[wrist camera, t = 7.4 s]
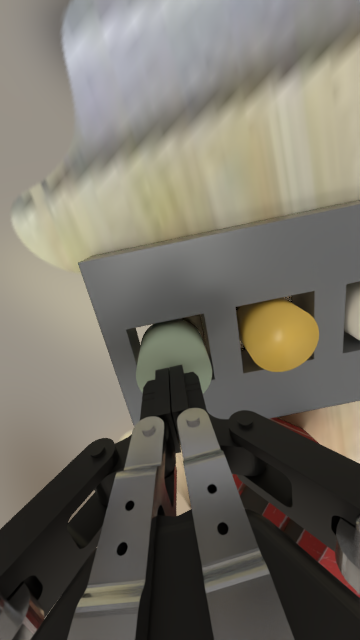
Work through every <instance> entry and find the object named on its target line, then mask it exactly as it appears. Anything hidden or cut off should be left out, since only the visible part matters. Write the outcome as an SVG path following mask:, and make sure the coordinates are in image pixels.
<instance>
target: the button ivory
mask: <svg viewBox="0 0 360 640" xmlns="http://www.w3.org/2000/svg"><path fill="white" fill-rule="evenodd" d="M344 331H345V332H346V333H348V334H350V335H351V336H353V337H355V338H356V339H358V340H360V281H359V282H355V283H350V284H346V300H345V319H344Z"/></svg>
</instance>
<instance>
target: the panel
mask: <svg viewBox="0 0 360 640" xmlns="http://www.w3.org/2000/svg"><path fill="white" fill-rule="evenodd" d="M78 265H79V268H80V271H81V273H82V276H83V279H84V282H85V285H86V288H87V291H88V294H89V297H90V299H91V302H92V305H93V308H94V311H95V314H96V317H97V320H98V323H99V326H100V329H101V332H102V335H103V337H104V340H105V343H106V346H107V349H108V352H109V355H110V358H111V361H112V364H113V367H114V369H115V372H116V375H117V378H118V381H119V384H120V387H121V390H122V393H123V396H124V399H125V401H126V405H127V407H128V410H129V413H130V416H131V419H132V422H133V425H134V427H135V425H136V424H137V423H138V422H139V421H140V414H141V404H142V396H143V393H142V392H141V390H140V388H139V387H138V384H137V380H136V369H137V363H138V358H139V352H140V346H141V345H140V342H139V339H138V335H137V331H136V327H140V326H145V325H150V324H155V323H160V322H165V321H170V320H175V319H179V318H184V317H189V316H194V315H199V314H200V315H201V321H202V326H203V332H204V338H205V343H206V349H207V354H208V357H209V360H210V363H211V367H212V379H211V382H210V385H209V387H208V388H207V390H206V391H205V392H204V394H203V397H204V401H205V405H206V409H207V411H208V413H209V414H210V415H212V416H213V417H216V418H219V419H229V418H230V416H231V415H232V414H233V413H235V412H237V411H241V410H249V411H253V412H255V413H257V414H259V415H261V416H263V417H265V418H267V419H270V418H275V417H280V416H285V415H290V414H295V413H300V412H305V411H310V410H315V409H320V408H325V407H330V406H335V405H340V404H345V403H350V402H355V401H360V340H358V339H356V338H355V337H353V336H351V335H350V334H348V333H346V332H345V331H344V319H345V300H346V284H350V283H355V282H359V281H360V200H358V201H353V202H349V203H344V204H339V205H334V206H330V207H325V208H320V209H315V210H310V211H306V212H301V213H296V214H291V215H287V216H282V217H277V218H272V219H267V220H263V221H258V222H253V223H248V224H244V225H239V226H234V227H229V228H224V229H220V230H215V231H210V232H205V233H200V234H196V235H191V236H186V237H181V238H177V239H172V240H167V241H162V242H157V243H153V244H148V245H143V246H138V247H134V248H129V249H124V250H119V251H114V252H110V253H105V254H100V255H95V256H91V257H89V258H87V259H85V260H83V261H81V262H79V263H78ZM291 295H292V303H293V304H294V305H296V306H298V307H299V308H301V309H302V310H304V311H306V312H307V313H309V314H310V315H311V316H312V317H313V318H314V319H315V321H316V323H317V325H318V329H319V340H318V344H317V346H316V348H315V350H314V352H313V353H312V355H311V356H310V357H309V358H308V359H307V360H306V361H305V362H304V363H303V364H301V365H300V366H298V367H296V368H294V369H291V370H288V371H283V372H272V371H268V370H265V369H263V368H261V367H260V366H258V365H257V364H256V363H255V362H254V360H253V359H252V357H251V356H250V354H249V353H248V351H247V350H243V351H241V349H240V341H239V332H238V324H237V315H236V307H238V306H243V305H248V304H252V303H257V302H262V301H267V300H272V299H277V298H282V297H286V296H291Z"/></svg>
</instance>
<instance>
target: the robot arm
mask: <svg viewBox="0 0 360 640" xmlns="http://www.w3.org/2000/svg"><path fill="white" fill-rule="evenodd" d="M180 445H181V449H182V453H183V458H184V461H183V463H184V469H185V475H186V480H187V486H188V492H189V497H190V503H191V508H192V509H191V510H189V511H187V512H185V513H183V514H181V515H179V516H176V489H177V468H176V456H175V453H179V452H181V449H180ZM232 474H236V475H237V477H238V478H239V480H240V481H242V482H243V483H244V484H245V485H247V486H248V487H249V488H251V489H252V490H253V491H255V492H256V493H257V494H259V495H260V496H261V497H263V498H264V499H265V500H267V501H268V502H269V503H271V504H272V505H273V506H275V507H276V508H277V509H279V510H280V511H281V512H283V513H284V514H285V515H286V516H288V517H289V518H290V519H292V520H293V521H294V522H296V523H297V524H298V525H300V526H301V527H302V528H304V529H305V530H306V531H308V532H309V533H310V534H312V535H313V536H314V537H316V538H317V539H318V540H320V541H321V542H322V543H324V544H325V545H326V546H328V547H329V548H330V549H331V550H333V551H334V552H335V559H336V563H337V565H338V568H339V570H340V572H341V574H342V575H343V577H344V578H345V579H346V581H347V582H348V583H349V584H350V585H351V586H352V587H353V588H354V589H355V590H356V591H357V592H358V593H359V594H360V464H359V463H357V462H355V461H353V460H351V459H349V458H347V457H345V456H343V455H341V454H339V453H337V452H335V451H333V450H330V449H328V448H326V447H324V446H322V445H320V444H318V443H316V442H314V441H312V440H310V439H308V438H306V437H304V436H302V435H300V434H298V433H296V432H294V431H292V430H290V429H288V428H286V427H284V426H282V425H280V424H278V423H276V422H274V421H272V420H269V419H267V418H265V417H263V416H261V415H259V414H257V413H255V412H253V411H249V410H241V411H237V412H235V413H233V414H232V415H231V416H230V418H229V419H219V418H216V417H213V416H212V415H210V414H209V413H208V411H207V409H206V405H205V401H204V397H203V393H202V389H201V385H200V381H199V377H198V375H196V374H195V373H194V372H189V373H184V370H183V366H182V365H178V366H173V367H169V368H163V369H158V370H155V380H150V381H147V383H146V384H145V386H144V387H143V396H142V404H141V414H140V421H139V422H138V423H137V424H136V425H135V427H134V429H133V432H132V435H131V436H129V437H128V438H126V439H124V440H122V441H120V442H118V443H116V444H114V442H113V440H111V439H108V438H102V439H98V440H96V441H94V442H92V443H91V444H90V445H88V446H87V447H86V448H85V449H84V450H83V451H82V452H81V453H80V454H79V455H78V456H77V457H76V458H75V459H74V460H73V461H72V462H70V464H68V465H67V466H66V467H65V468H64V469H63V470H62V471H61V472H60V473H59V474H58V475H57V476H56V477H55V478H54V479H53V480H52V481H51V482H49V483H48V484H47V485H46V486H45V487H44V488H43V489H42V490H41V491H40V492H39V493H38V494H37V495H36V496H35V497H34V498H33V499H32V500H31V501H30V502H29V503H28V504H26V505H25V506H24V507H23V508H22V509H21V510H20V511H19V512H18V513H17V514H16V515H15V516H14V517H13V518H12V519H11V520H10V521H9V522H8V523H6V524H5V525H4V527H2V528H1V529H0V640H360V598H359V597H358V596H357V595H356V594H355V593H354V592H352V591H351V590H350V589H349V588H348V587H347V586H345V585H344V584H343V583H342V582H341V581H340V580H339V579H337V578H336V577H335V576H334V575H333V574H332V573H330V572H329V571H328V570H327V569H326V568H325V567H323V566H322V565H321V564H320V563H319V562H318V561H317V560H315V559H314V558H313V557H312V556H311V555H310V554H308V553H307V552H306V551H305V550H304V549H303V548H301V547H300V546H299V545H298V544H297V543H296V542H295V541H293V540H292V539H291V538H290V537H289V536H288V535H286V534H285V533H284V532H283V531H282V530H281V529H279V528H278V527H277V526H276V525H275V524H274V523H272V522H271V521H270V520H269V519H267V518H266V517H264V516H263V515H261V514H259V513H257V512H255V511H252V510H249V509H245V508H244V506H243V504H242V501H241V498H240V495H239V493H238V490H237V487H236V484H235V482H234V479H233V476H232ZM93 490H95V493H94V494H93V495H92V496H91V497H90V499H89V500H88V501H87V502H86V503H85V504H84V506H83V507H82V508H81V509H80V510H79V511H78V513H77V514H76V515H75V516H74V517H73V518H72V519H71V520H70V522H69V523H68V521H69V519H70V517H71V515H72V514H73V513H74V512H75V511H76V510H77V508H78V507H79V506H80V505H81V504H82V503H83V502H84V501H85V499H86V498H87V497H88V496H89V495H90V494H91V492H92V491H93ZM96 547H97V548H96ZM60 596H61V597H60ZM57 600H58V601H57ZM55 603H56V604H55ZM54 604H55V605H54ZM53 606H54V607H53ZM52 607H53V608H52ZM51 608H52V609H51ZM50 610H51V611H50ZM49 611H50V612H49ZM48 613H49V614H48ZM47 614H48V615H47ZM46 615H47V617H46ZM45 617H46V618H45ZM44 618H45V619H44Z"/></svg>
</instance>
